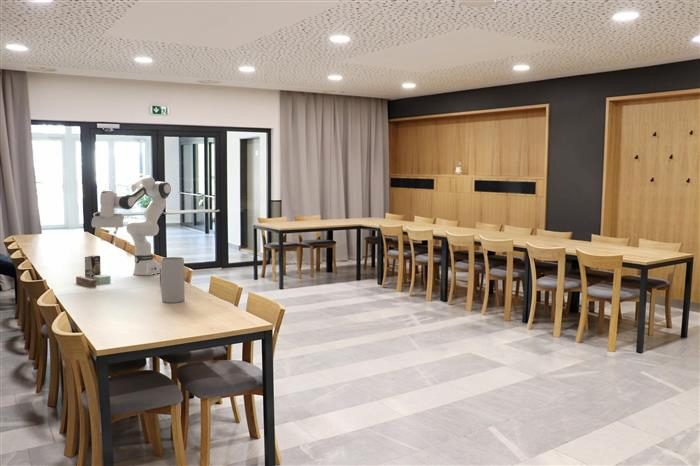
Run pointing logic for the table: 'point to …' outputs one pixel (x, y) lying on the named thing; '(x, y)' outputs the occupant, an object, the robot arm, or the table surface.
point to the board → (86, 281)
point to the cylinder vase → (172, 279)
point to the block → (102, 279)
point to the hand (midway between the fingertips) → (107, 233)
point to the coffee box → (92, 266)
